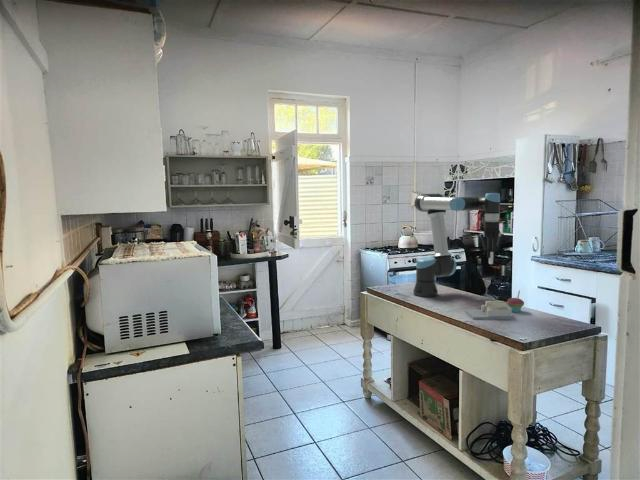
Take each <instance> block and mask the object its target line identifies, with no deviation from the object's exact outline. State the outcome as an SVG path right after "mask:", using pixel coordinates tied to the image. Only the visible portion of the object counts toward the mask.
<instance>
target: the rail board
mask: <svg viewBox="0 0 640 480" xmlns="http://www.w3.org/2000/svg"><path fill="white" fill-rule="evenodd" d="M480 306H481V307H480V308H481V309H465V310H464V313H465V314H466V315H468V316H469V317H470V318H471V320H508V321H509V320H510V319H515V318H514V316H513V315H512V308H510V307H509V305H507V309H487V313H486V312H485V304H481V305H480Z"/></svg>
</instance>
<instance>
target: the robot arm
mask: <svg viewBox="0 0 640 480" xmlns="http://www.w3.org/2000/svg"><path fill="white" fill-rule="evenodd" d="M414 206H415V209H416V210H417V211H420V212H421V213H425V212H427V216H428V217H429V218H430V225H431V232H432V233H431V235H432V241H433V250H434V254H433V255H432V256H423V257H419V258H418V259H417V260H416V263H415V265H416V266H415V267H416V270H415V271H416V272H415V273H416V274H415V275H416V276H415V277H416V278H415V285H414V288H413V292H412V293H413V295H414V296H416V297H423V298H424V297H425V298H432V297H437V296H438V295H439V290H438V288H437V285H436V278H442V277H450V276H452V275H454V274H455V272H456V271H457V262H456V259H455V258H453V257H452V254H451V253H450V252H449V246H448V245H449V244H448V237H447V230H446V222H445V215H446V214H447V211H454V212H461V211H484V221H485V222H484V228H483V229H484V230H483V232H482V233H479V234H478V236H479V237H480V240H481V244H482V249H483V251H484V252H486V254H487V255H486V256H487V258H488V264H489V265H494V259H495V258H496V253H497V252H499V250H500V247H501V243H502V240H503V238H504V236H505V234H504V233H503V232H501V231H500V214H501V213H500V209H501V208H500V207H501V195H500V193H498V192H489V193H488V192H487V193H485V196H446V195H445V194H443V193H421V194H419V195H417V196H416V198H415V199H414ZM485 237H486V238H485Z"/></svg>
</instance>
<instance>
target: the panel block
mask: <svg viewBox="0 0 640 480" xmlns="http://www.w3.org/2000/svg"><path fill="white" fill-rule="evenodd" d="M484 305H485V312H486V313H487V309H507V306H508V304H507V302H506V301H504V300H485V304H484Z"/></svg>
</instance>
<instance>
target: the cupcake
mask: <svg viewBox="0 0 640 480" xmlns="http://www.w3.org/2000/svg"><path fill="white" fill-rule="evenodd" d="M520 293H521V289H519V290H518V293H517V297H510V298H508V299H507V300H506V303H507V306H509V307H510V308H512V312H513V313H519V312H521V309H522V307H523V306H524V305H525V301H524V300H522V299H521V298H519V297H520Z"/></svg>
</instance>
